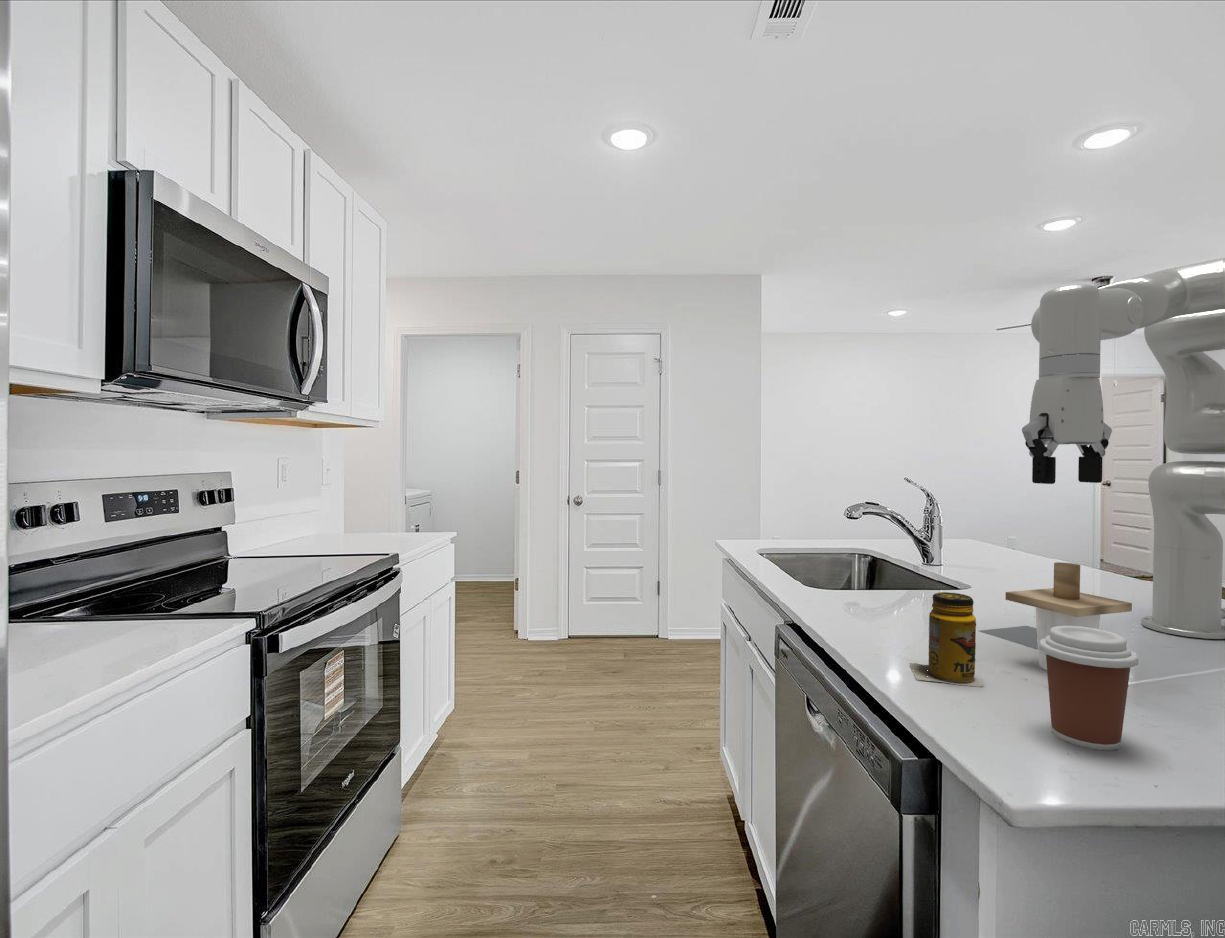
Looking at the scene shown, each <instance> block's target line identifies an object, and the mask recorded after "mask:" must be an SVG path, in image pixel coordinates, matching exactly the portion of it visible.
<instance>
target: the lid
mask: <svg viewBox="0 0 1225 938" xmlns="http://www.w3.org/2000/svg"><path fill="white" fill-rule="evenodd" d="M1005 601H1009V602H1013V603H1017V604H1022V605H1025V606H1029V607H1033V608H1036V607H1038V608H1042V609H1046V610H1050V611H1054V612H1058V613H1062V614H1066V615H1071V616H1075V617H1082V616H1092V615H1100V616H1101V615H1108V614H1120V613H1130V612H1132V610H1133V603H1132V602H1129V601H1123V600H1118V599H1114V598H1109V597H1105V596H1104V597H1103V596H1099V595H1093V594H1090V593H1084V592H1081V565H1080V564H1078V563H1073V562H1072V563H1071V562H1062V561H1061V562H1054V563H1053V587H1052V588H1050V587H1049V588H1039V589H1027V590H1026V589H1025V590H1015V591H1005Z"/></svg>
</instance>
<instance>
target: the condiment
mask: <svg viewBox="0 0 1225 938" xmlns="http://www.w3.org/2000/svg"><path fill="white" fill-rule="evenodd" d="M931 607H932V609H931V611H930V612H929V617H928V664H921V663H916V662H909V666H910V668H911V671H912V670H914V671H912V673H914V674H913V675H914V677H915V678H916V681H925V682H926V681H927V682H935V683H936V682H937V683H939V682H940V683H946V684H949V685H950V684H951V685H957V686H958V685H959V686H965V687H966V686H967V687H971V686H972V687H977V688H979V687H980V688H981V687H983V684H982V683H981V682H980V680H979V679H978V678H977V677H976V675H975V674H976V670H975V669H976V661H977V660H976V647H977V645H976V644H977V643H976V635H977V634H976V633H977V632H976V631H977V630H976V626H977V622H976V621H977V619H976V616H975V615H974V614H973V613H974V599H973V598H972V597H971V596H970V595H966V594H963V593H959V592H946V591H943V592H941V591H940V592H935V593H934V594H933V595H932V603H931ZM927 670H928V671H927ZM927 676H928V677H927Z"/></svg>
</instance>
